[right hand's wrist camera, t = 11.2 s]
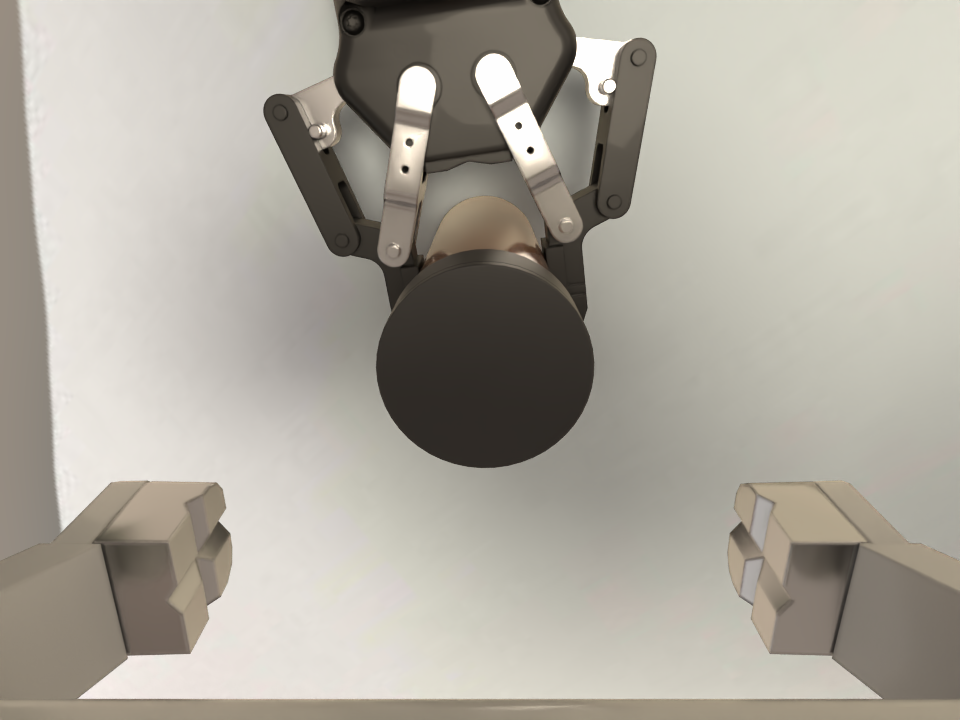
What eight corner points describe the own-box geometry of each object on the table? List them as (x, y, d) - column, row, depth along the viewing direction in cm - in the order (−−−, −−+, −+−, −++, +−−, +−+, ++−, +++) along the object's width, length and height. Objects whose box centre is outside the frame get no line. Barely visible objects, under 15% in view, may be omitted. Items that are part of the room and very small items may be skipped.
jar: (448, 304, 33) (417, 466, 18) (424, 208, 32) (366, 296, 16) (543, 283, 33) (595, 430, 17) (523, 184, 31) (561, 252, 16)
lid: (415, 451, 19) (407, 486, 18) (363, 273, 18) (348, 292, 16) (598, 413, 19) (611, 446, 17) (563, 227, 17) (573, 241, 15)
